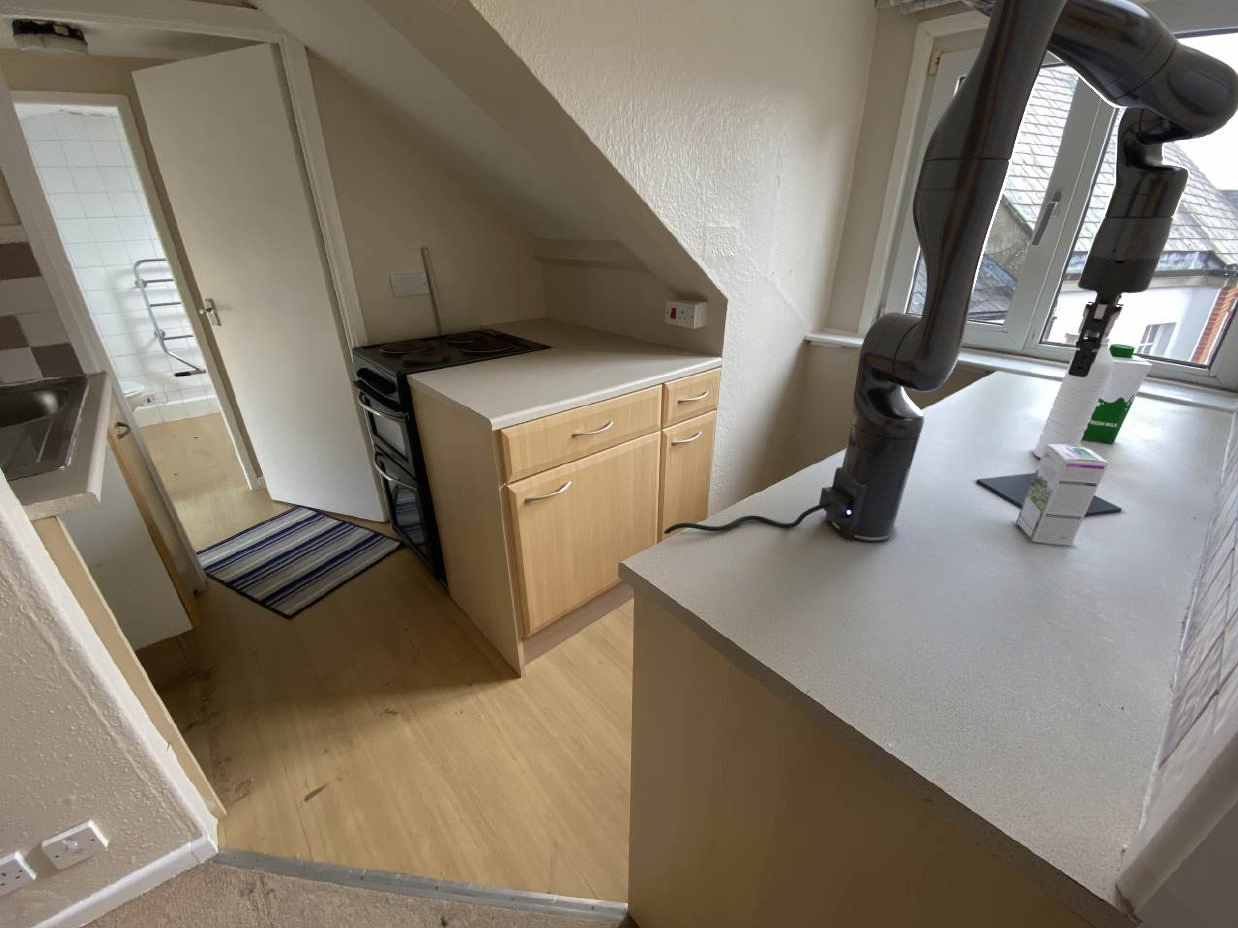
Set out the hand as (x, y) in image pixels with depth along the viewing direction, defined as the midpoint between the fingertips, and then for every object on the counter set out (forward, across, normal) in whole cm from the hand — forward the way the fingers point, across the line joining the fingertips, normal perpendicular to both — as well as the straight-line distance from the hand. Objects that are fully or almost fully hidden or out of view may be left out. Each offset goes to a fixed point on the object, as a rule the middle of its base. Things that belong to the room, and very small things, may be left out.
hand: (1080, 369), depth 79 cm
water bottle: (+26, -30, -1) cm, 39 cm away
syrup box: (+25, +7, +3) cm, 26 cm away
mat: (+25, -8, +1) cm, 27 cm away
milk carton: (+26, -50, +4) cm, 57 cm away
